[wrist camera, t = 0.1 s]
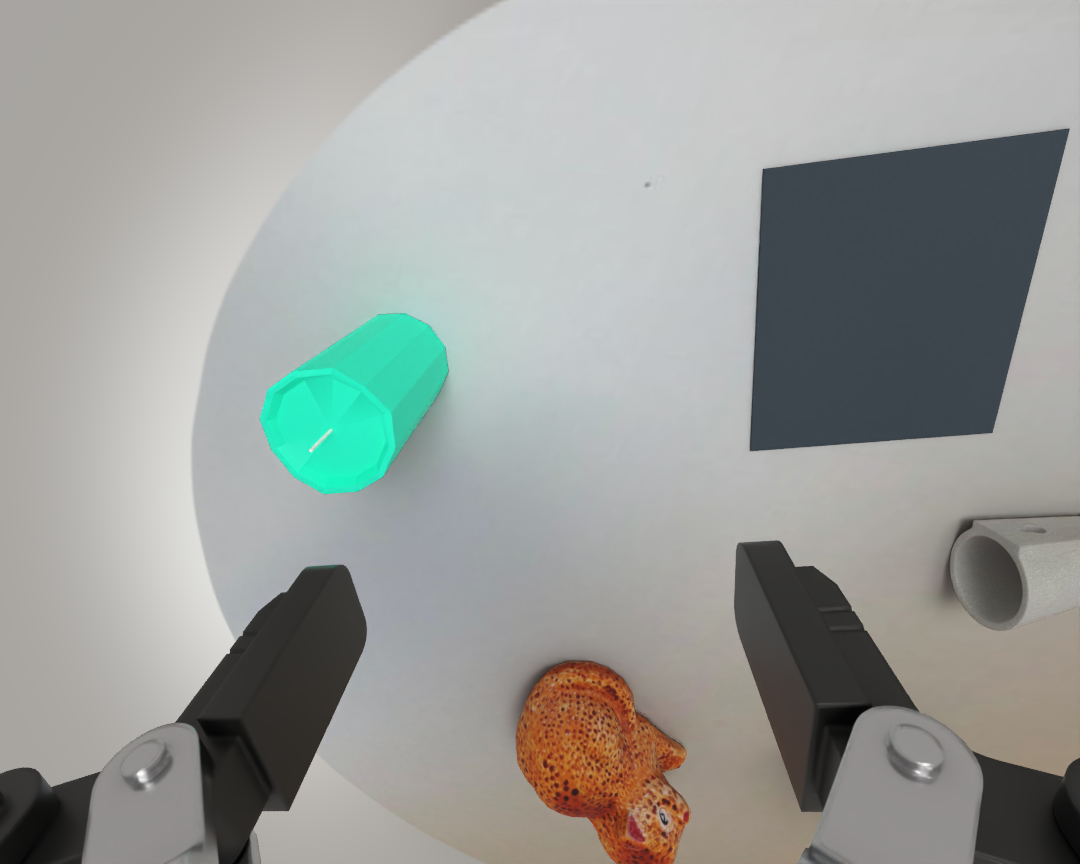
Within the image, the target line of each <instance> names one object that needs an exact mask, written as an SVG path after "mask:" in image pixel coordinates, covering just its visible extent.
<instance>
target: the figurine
mask: <svg viewBox="0 0 1080 864" xmlns="http://www.w3.org/2000/svg"><path fill="white" fill-rule="evenodd" d="M516 749H517V762H518V764H519V767H520V769H521V771H522V773H523V774H524V776H525V778H526V779H527V781H528V782H529V783H530V784H531V785H532V786H533V788H534V789H535V791H536V793H537V794H538V796H539V798H540V799H541V800H542V801H543V802H544V803H545V804H546V805H547V807H549V808H551V809H553V810H555V811H556V812H558V813H560V814H563V815H567V816H571V817H587V818H588V819H589V820H590V821H591V822H592V824H593V825H594V827H595V829H596V831H597V833H598V836H599V839H600V841H601V843H602V845H603V847H604V849H605V850H606V852H607V853H608V855H609V856H610V858H611V859H612V860H613V861H614V862H615V863H616V864H673V863H674V860H675V856H676V853H677V849H678V846H679V842H680V839H681V835H682V832H683V830H684V827H685V825H686V824H688V822H689V820H690V818H691V811H690V809H689V807H688V805H687V803H686V802H685V800H684V798H683V797H682V796H681V795H680V794H679V793H678V792H677V791H676V790H675V789H674V788H673V787H672V786H671V785H670V784H669V783H668V781H667V780H666V778H665V777H664V775H663V773H662V772H665V771H669V770H673V769H676V768H679V767H680V766H681V764H682V763H683V761H684V760H685V758H686V756H687V750H686V749H685V748H684V747H683V746H682V745H680V744H679V743H677V742H675V741H674V740H672V739H670V738H668V737H667V736H666V735H665V734H663V733H662V732H661V731H659V730H658V729H657V728H656V727H655V726H653V725H652V724H651V723H650V722H649V721H648V720H647V719H646V718H645V717H643V716H642V715H641V714H639V713H637V712H635V709H634V699H633V694H632V692H631V690H630V689H629V687H628V686H627V684H626V683H625V681H624V680H623V678H622V677H621V676H619V675H618V674H616V673H615V672H613V671H612V670H611V669H609V668H607V667H605V666H602V665H599V664H597V663H594V662H591V661H568V662H564V663H561V664H558V665H556V666H555V667H553V668H552V669H550V670H549V671H548V672H547V673H546V674H545V675H544V676H543V677H542V678H541V679H540V680H539V682H538V683H537V684H536V685H535V686H534V687H533V689H532V691H531V692H530V694H529V696H528V699H527V701H526V703H525V705H524V708H523V711H522V714H521V716H520V719H519V722H518V725H517V732H516Z"/></svg>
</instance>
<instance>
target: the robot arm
mask: <svg viewBox="0 0 1080 864" xmlns="http://www.w3.org/2000/svg"><path fill="white" fill-rule="evenodd" d="M734 609H735V618H736V624H737V629H738V633H739V636H740V639H741V642H742V645H743V648H744V651H745V654H746V656H747V659H748V662H749V665H750V668H751V671H752V673H753V676H754V679H755V682H756V685H757V687H758V690H759V693H760V696H761V699H762V702H763V704H764V707H765V710H766V713H767V716H768V719H769V721H770V724H771V727H772V730H773V733H774V736H775V738H776V741H777V744H778V747H779V750H780V752H781V755H782V758H783V761H784V764H785V767H786V769H787V772H788V775H789V778H790V781H791V784H792V786H793V789H794V792H795V795H796V798H797V800H798V803H799V806H800V809H801V812H823V813H822V816H821V819H820V822H819V824H818V827H817V830H816V833H815V835H814V838H813V841H812V843H811V845H810V847H809V849H808V848H805V850H804V852H803V853H802V855H801V858H800V860H799V862H798V864H1080V758H1079V759H1077V760H1075V761H1073V762H1072V763H1071V764H1070V765H1069V766H1068V768H1067V770H1066V773H1065V775H1064V777H1061V776H1057V775H1053V774H1049V773H1046V772H1042V771H1038V770H1034V769H1030V768H1026V767H1022V766H1018V765H1014V764H1010V763H1006V762H1002V761H998V760H995V759H992V758H989V757H985V756H983V755H981V754H978V753H976V752H973V751H971V749H970V748H969V747H968V746H967V745H966V744H965V742H964V741H963V740H962V739H961V738H960V737H959V736H958V735H956V734H955V733H954V732H953V731H952V730H950V729H949V728H948V727H946V726H945V725H944V724H942V723H940V722H939V721H937V720H935V719H934V718H932V717H930V716H928V715H926V714H923V713H921V712H919V710H918V709H917V708H916V706H915V705H914V704H913V702H912V700H911V699H910V697H909V696H908V694H907V693H906V691H905V690H904V688H903V686H902V685H901V683H900V682H899V680H898V679H897V677H896V676H895V674H894V672H893V671H892V669H891V668H890V666H889V665H888V663H887V662H886V660H885V658H884V657H883V655H882V654H881V652H880V651H879V649H878V648H877V646H876V644H875V643H874V641H873V640H872V638H871V637H870V635H869V634H868V632H867V631H865V630H864V627H863V624H862V623H861V621H860V620H859V618H858V616H857V615H856V613H855V612H854V611H852V609H851V606H850V604H849V602H848V601H847V599H846V598H845V596H844V595H843V593H842V592H841V590H840V588H839V587H838V585H837V584H836V583H834V582H833V581H832V580H830V579H829V578H828V577H827V576H825V575H824V574H823V573H821V572H820V571H819V570H817V569H816V568H815V567H814V566H804V567H795V566H794V564H793V562H792V560H791V558H790V557H789V555H788V553H787V551H786V550H785V548H784V546H783V545H782V543H781V542H780V541H761V542H744V543H738V545H737V549H736V569H735V596H734ZM366 634H367V627H366V620H365V616H364V613H363V610H362V607H361V605H360V602H359V599H358V596H357V593H356V590H355V587H354V584H353V581H352V578H351V575H350V572H349V570H348V569H347V567H346V566H344V565H327V566H310V567H306V568H305V569H304V570H303V571H302V572H301V573H300V574H299V576H298V577H297V579H296V580H295V581H294V583H293V584H292V586H291V587H290V588H289V590H288V591H287V592H285V593H280V594H279V595H278V596H277V597H276V598H274V599H273V600H272V601H271V602H269V603H268V604H267V605H266V606H264V607H263V608H262V609H261V610H260V611H258V613H257V614H256V615H255V617H254V618H253V619H252V621H251V622H250V623H249V625H248V626H247V627H246V629H245V630H244V631H243V636H240V637H239V638H238V639H237V641H236V642H235V643H234V645H233V646H232V648H231V649H230V654H226V656H225V657H224V658H223V660H222V661H221V662H220V664H219V665H218V666H217V668H216V669H215V670H214V672H213V673H212V674H211V676H210V677H209V678H208V680H207V681H206V682H205V684H204V685H203V686H202V688H201V689H200V690H199V692H198V693H197V694H196V696H195V697H194V698H193V700H192V701H191V702H190V704H189V705H188V706H187V708H186V709H185V710H184V712H183V713H182V715H181V716H180V717H179V718H178V720H177V721H176V722H175V723H171V724H166V725H163V726H160V727H157V728H155V729H153V730H150V731H148V732H146V733H144V734H142V735H141V736H139V737H137V738H136V739H135V740H133V741H131V742H130V743H129V744H128V745H126V746H125V747H124V748H122V749H121V750H120V751H119V752H118V753H117V754H116V755H115V756H114V757H113V758H112V759H111V760H110V761H109V762H108V763H107V765H106V766H105V767H104V768H103V770H102V771H101V772H98V773H95V774H92V775H88V776H85V777H82V778H79V779H76V780H73V781H70V782H66V783H63V784H60V785H57V786H54V787H50V786H49V785H48V783H47V782H46V780H45V779H44V778H43V777H42V776H41V774H40V773H39V772H38V771H36V770H35V769H32V768H18V769H14V770H10V771H6V772H4V773H1V774H0V864H261V859H260V852H259V845H258V839H257V835H256V833H255V832H254V830H253V828H254V826H255V824H256V822H257V820H258V818H259V816H260V814H261V812H262V811H289V809H290V807H291V805H292V803H293V801H294V799H295V796H296V794H297V792H298V790H299V788H300V785H301V783H302V781H303V779H304V777H305V775H306V773H307V771H308V768H309V766H310V764H311V762H312V760H313V758H314V755H315V753H316V751H317V749H318V747H319V745H320V742H321V740H322V738H323V736H324V734H325V732H326V729H327V727H328V725H329V723H330V721H331V719H332V716H333V714H334V712H335V710H336V708H337V706H338V703H339V701H340V699H341V697H342V695H343V693H344V691H345V688H346V686H347V684H348V682H349V680H350V678H351V675H352V673H353V671H354V669H355V667H356V665H357V662H358V660H359V658H360V656H361V654H362V652H363V649H364V646H365V642H366Z"/></svg>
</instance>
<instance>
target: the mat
mask: <svg viewBox="0 0 1080 864" xmlns="http://www.w3.org/2000/svg"><path fill="white" fill-rule="evenodd" d="M1068 133H1069V129H1063V130H1055V131H1048V132H1040V133H1033V134H1025V135H1017V136H1010V137H1002V138H995V139H987V140H980V141H972V142H965V143H957V144H950V145H942V146H935V147H927V148H919V149H912V150H904V151H897V152H889V153H882V154H874V155H867V156H859V157H852V158H844V159H836V160H829V161H821V162H814V163H806V164H799V165H791V166H784V167H776V168H769V169H763V187H762V208H761V229H760V251H759V272H758V294H757V315H756V337H755V358H754V380H753V401H752V423H751V444H750V451H758V450H771V449H784V448H798V447H811V446H824V445H837V444H850V443H863V442H877V441H890V440H903V439H916V438H929V437H942V436H956V435H969V434H982V433H992V432H993V428H994V425H995V421H996V417H997V413H998V409H999V405H1000V401H1001V397H1002V393H1003V389H1004V385H1005V381H1006V377H1007V373H1008V369H1009V365H1010V362H1011V358H1012V354H1013V350H1014V346H1015V342H1016V338H1017V334H1018V330H1019V326H1020V322H1021V318H1022V314H1023V310H1024V306H1025V303H1026V299H1027V295H1028V291H1029V287H1030V283H1031V279H1032V275H1033V271H1034V267H1035V263H1036V259H1037V255H1038V251H1039V247H1040V244H1041V240H1042V236H1043V232H1044V228H1045V224H1046V220H1047V216H1048V212H1049V208H1050V204H1051V200H1052V196H1053V192H1054V188H1055V184H1056V181H1057V177H1058V173H1059V169H1060V165H1061V161H1062V157H1063V153H1064V149H1065V145H1066V141H1067V137H1068Z"/></svg>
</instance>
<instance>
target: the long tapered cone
mask: <svg viewBox="0 0 1080 864" xmlns="http://www.w3.org/2000/svg"><path fill="white" fill-rule="evenodd" d="M950 575H951V580H952V584H953V587H954V590H955V592H956V595H957V597H958V599H959V601H960V602H961V604H962V606H963V607H964V608H965V610H966V611H967V612H968V613H969V615H970V616H971V617H972V618H973V619H975V620H976V621H977V622H978V623H980V624H981V625H983V626H985V627H987V628H989V629H992V630H997V631H1006V630H1010V629H1013V628H1016V627H1019V626H1022V625H1025V624H1028V623H1031V622H1035V621H1038V620H1041V619H1044V618H1047V617H1050V616H1053V615H1056V614H1059V613H1061V612H1064V611H1067V610H1070V609H1073V608H1076V607H1079V606H1080V516H1066V517H1042V518H1017V519H993V520H974V521H973V526H972V528H971V529H969V530H967V531H965V532H964V533H962V534H961V535H960V536H959V537H958V538H957V540H956V541H955V543H954V545H953V548H952V551H951V556H950Z"/></svg>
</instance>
